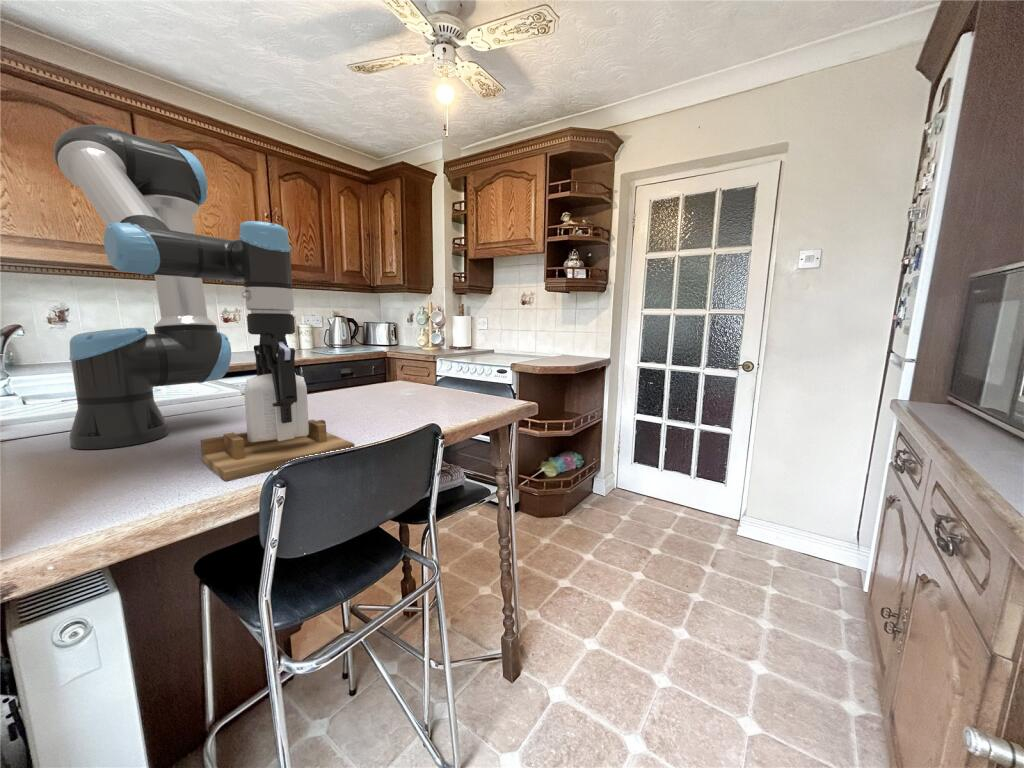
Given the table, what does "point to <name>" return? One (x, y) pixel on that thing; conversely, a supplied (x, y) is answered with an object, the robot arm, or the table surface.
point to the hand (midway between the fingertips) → (279, 436)
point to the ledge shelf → (265, 451)
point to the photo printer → (272, 408)
